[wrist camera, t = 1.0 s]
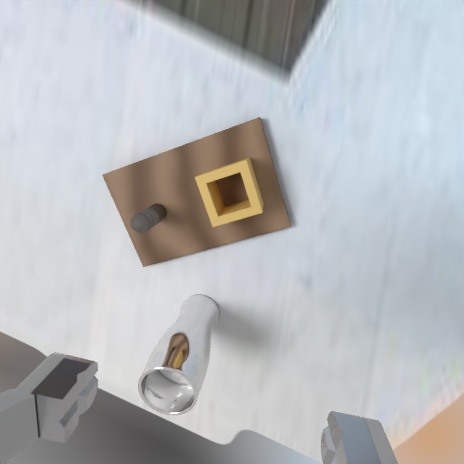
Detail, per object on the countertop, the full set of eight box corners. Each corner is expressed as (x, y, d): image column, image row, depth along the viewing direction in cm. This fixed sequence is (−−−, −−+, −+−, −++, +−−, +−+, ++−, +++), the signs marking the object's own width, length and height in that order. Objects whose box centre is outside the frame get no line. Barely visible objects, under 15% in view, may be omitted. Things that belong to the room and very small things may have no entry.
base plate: (260, 118, 34) (257, 111, 26) (290, 223, 38) (295, 244, 30) (108, 173, 39) (68, 181, 31) (147, 262, 42) (120, 289, 35)
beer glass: (209, 285, 42) (179, 358, 28) (229, 322, 44) (210, 408, 30) (171, 300, 44) (124, 375, 30) (191, 335, 45) (156, 422, 31)
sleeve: (249, 157, 34) (246, 160, 30) (263, 203, 36) (262, 212, 31) (204, 172, 36) (194, 177, 31) (220, 216, 37) (212, 227, 32)
